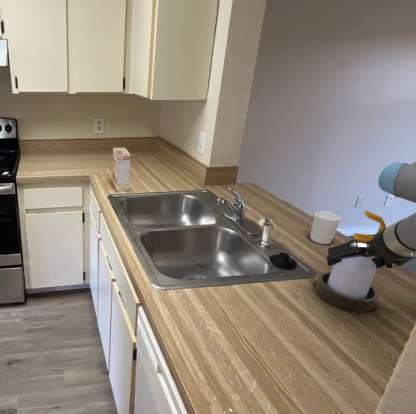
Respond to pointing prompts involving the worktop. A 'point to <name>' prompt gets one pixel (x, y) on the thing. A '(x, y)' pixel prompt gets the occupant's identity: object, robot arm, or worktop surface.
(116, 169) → the coffeecake box
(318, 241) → the white cup
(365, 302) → the holder
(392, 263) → the robot arm
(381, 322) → the worktop surface
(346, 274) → the soap bottle
